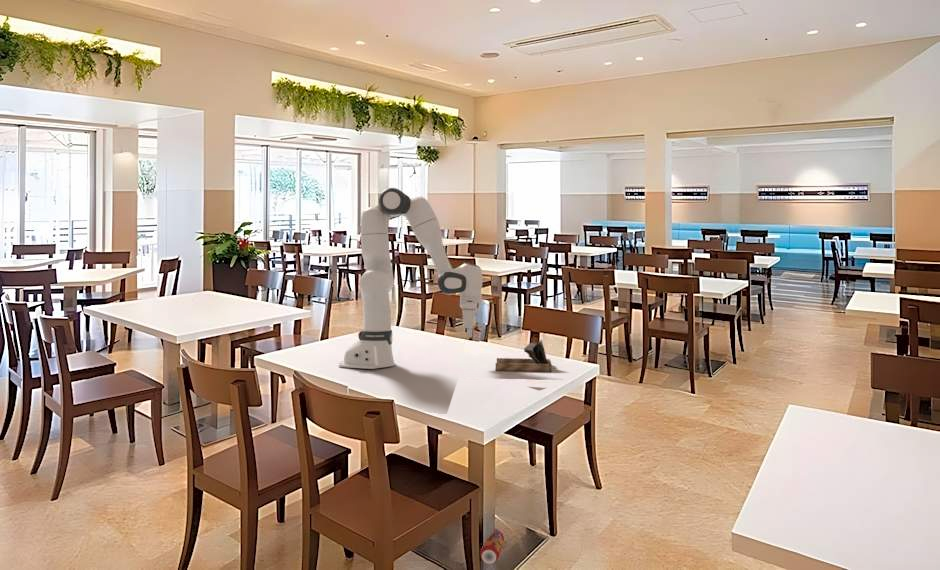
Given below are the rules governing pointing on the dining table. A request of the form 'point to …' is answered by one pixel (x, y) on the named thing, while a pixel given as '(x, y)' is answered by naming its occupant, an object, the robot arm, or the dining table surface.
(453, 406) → the dining table surface
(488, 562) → the smoothie
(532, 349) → the bell
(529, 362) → the cradle
